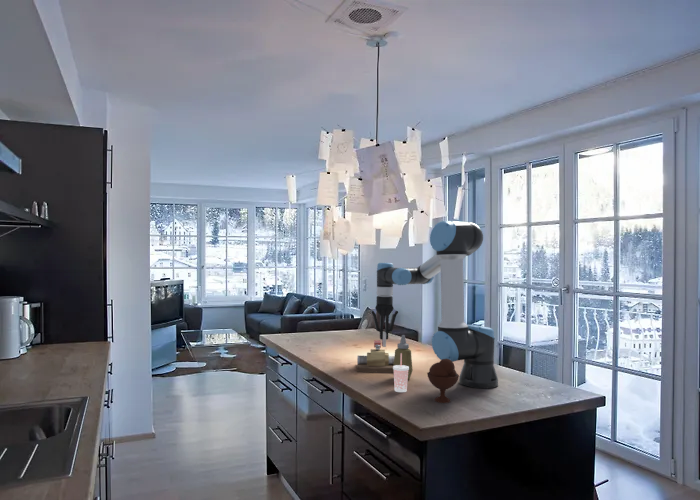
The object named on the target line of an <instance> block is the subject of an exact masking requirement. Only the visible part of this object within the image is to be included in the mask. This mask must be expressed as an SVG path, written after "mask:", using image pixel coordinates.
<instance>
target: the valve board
mask: <svg viewBox="0 0 700 500" xmlns="http://www.w3.org/2000/svg"><path fill="white" fill-rule="evenodd" d="M394 356H395V355H394ZM394 356H392V355H391V356H390V355H389V352H386V350H385V349H381V348H380V351H376V348H375V349H373V348H371V349H370V352H366V355H357V362H356V363H357V366H356V372H357V373H389V374H391V373H392V374H394V371H393V365H394Z"/></svg>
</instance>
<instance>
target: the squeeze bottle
mask: <svg viewBox="0 0 700 500" xmlns="http://www.w3.org/2000/svg"><path fill="white" fill-rule="evenodd" d="M401 353H402V365H405V366H409V370H408V380H410V379H411V377H412V373H413V359H412V350H411V349H410V345H409V343H407V339H406V335H405V334H402V335H401V337H400V342H398V343H397V348H396V349H395V350H394V365H393V366H395V365H400V358H401ZM393 371H394V369H393Z"/></svg>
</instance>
